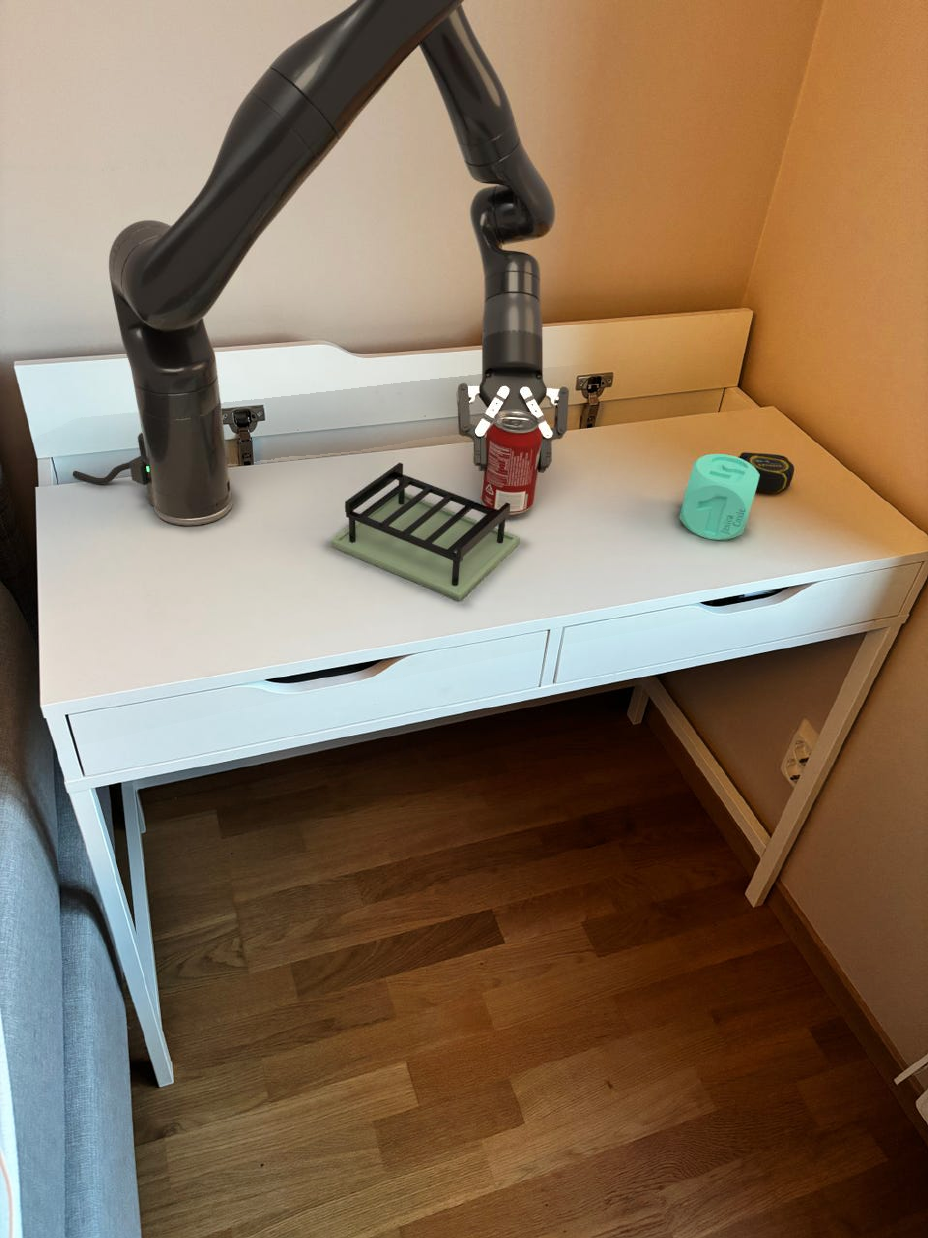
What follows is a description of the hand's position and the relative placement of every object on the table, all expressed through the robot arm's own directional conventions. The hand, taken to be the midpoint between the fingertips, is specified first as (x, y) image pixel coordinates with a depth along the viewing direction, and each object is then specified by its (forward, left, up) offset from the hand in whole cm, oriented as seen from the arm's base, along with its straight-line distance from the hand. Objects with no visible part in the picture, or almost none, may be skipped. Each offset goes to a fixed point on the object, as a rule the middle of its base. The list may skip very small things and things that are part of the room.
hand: (512, 470), depth 116 cm
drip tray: (-5, -12, -7) cm, 14 cm away
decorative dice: (+22, +14, -7) cm, 27 cm away
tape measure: (+24, +28, -7) cm, 38 cm away
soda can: (-1, +1, -6) cm, 6 cm away
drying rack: (-5, -12, -7) cm, 14 cm away
